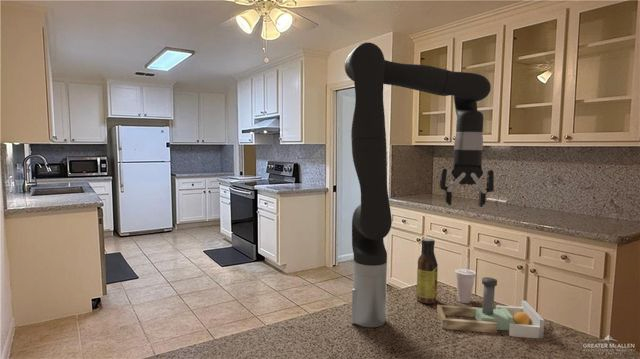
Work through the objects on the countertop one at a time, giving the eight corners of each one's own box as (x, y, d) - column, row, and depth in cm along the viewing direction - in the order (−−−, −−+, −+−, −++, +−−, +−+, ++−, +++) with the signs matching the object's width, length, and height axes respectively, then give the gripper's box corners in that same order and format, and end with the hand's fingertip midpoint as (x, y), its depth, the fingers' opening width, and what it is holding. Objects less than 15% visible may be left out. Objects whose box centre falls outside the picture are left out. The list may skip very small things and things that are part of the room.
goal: (510, 336, 103) (511, 317, 102) (495, 315, 116) (496, 298, 115) (542, 338, 102) (544, 320, 101) (524, 317, 115) (525, 300, 114)
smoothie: (476, 305, 122) (478, 261, 121) (454, 303, 124) (456, 260, 122) (472, 298, 129) (474, 256, 127) (452, 296, 130) (454, 254, 129)
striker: (481, 328, 107) (483, 283, 106) (474, 317, 114) (477, 275, 112) (512, 330, 106) (515, 285, 105) (504, 319, 112) (507, 276, 111)
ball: (530, 314, 106) (533, 328, 106) (524, 308, 110) (528, 321, 110) (515, 317, 107) (518, 331, 107) (510, 311, 111) (513, 324, 111)
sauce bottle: (439, 304, 123) (441, 242, 121) (419, 304, 123) (421, 242, 121) (433, 296, 129) (435, 237, 127) (414, 296, 129) (416, 237, 127)
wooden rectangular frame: (442, 328, 107) (442, 319, 106) (436, 312, 117) (437, 304, 117) (496, 332, 105) (497, 324, 104) (486, 316, 115) (486, 308, 115)
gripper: (444, 147, 108) (441, 206, 109) (498, 149, 106) (494, 208, 107) (440, 147, 115) (437, 202, 117) (491, 149, 113) (487, 205, 114)
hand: (464, 205), depth 112 cm, fingers open, 8 cm apart
